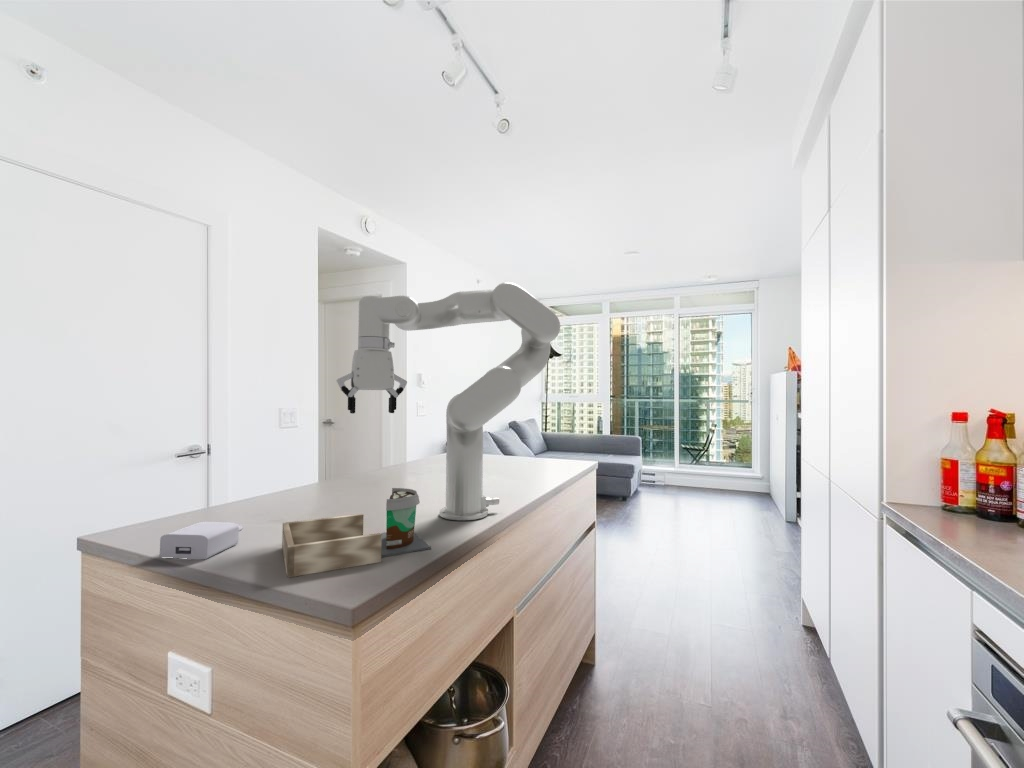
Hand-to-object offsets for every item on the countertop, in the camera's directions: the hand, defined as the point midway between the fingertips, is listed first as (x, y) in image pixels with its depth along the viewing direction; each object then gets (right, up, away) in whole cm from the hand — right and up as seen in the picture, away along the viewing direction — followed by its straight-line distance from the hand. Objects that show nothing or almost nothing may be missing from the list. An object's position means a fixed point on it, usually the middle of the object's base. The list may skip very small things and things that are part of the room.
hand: (372, 413), depth 114 cm
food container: (+13, -26, -20) cm, 35 cm away
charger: (-25, -26, -23) cm, 43 cm away
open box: (0, -25, -28) cm, 38 cm away
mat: (+11, -26, -20) cm, 35 cm away
